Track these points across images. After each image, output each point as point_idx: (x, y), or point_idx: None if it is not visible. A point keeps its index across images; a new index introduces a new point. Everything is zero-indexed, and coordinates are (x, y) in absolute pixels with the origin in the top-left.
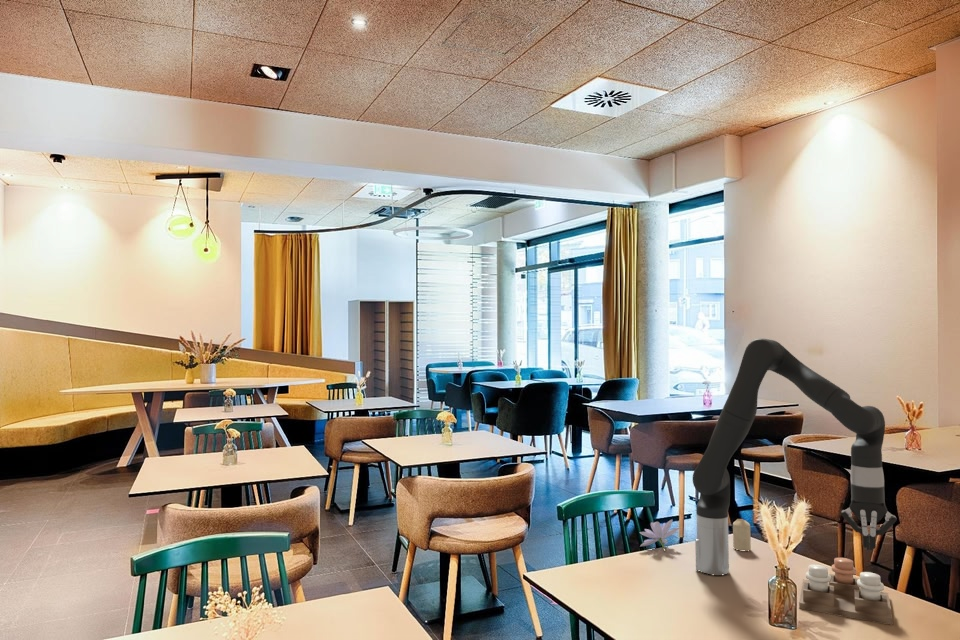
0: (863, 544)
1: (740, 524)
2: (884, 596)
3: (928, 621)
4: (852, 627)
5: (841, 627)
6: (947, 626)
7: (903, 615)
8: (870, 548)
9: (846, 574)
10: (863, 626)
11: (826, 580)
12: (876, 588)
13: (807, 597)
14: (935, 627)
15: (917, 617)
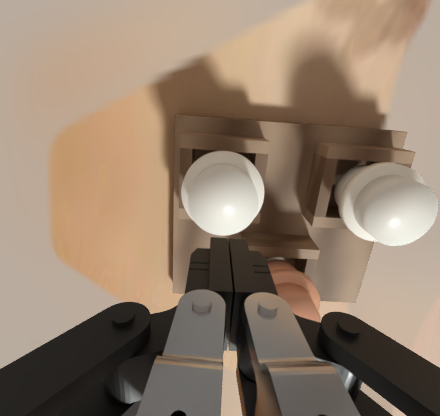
0: (264, 262)
1: None
2: None
3: (96, 180)
4: (280, 46)
5: (310, 31)
6: (56, 166)
7: (148, 194)
8: (223, 240)
9: (280, 269)
10: (250, 69)
11: (363, 172)
12: (207, 155)
13: (390, 148)
14: (81, 146)
15: (119, 195)
